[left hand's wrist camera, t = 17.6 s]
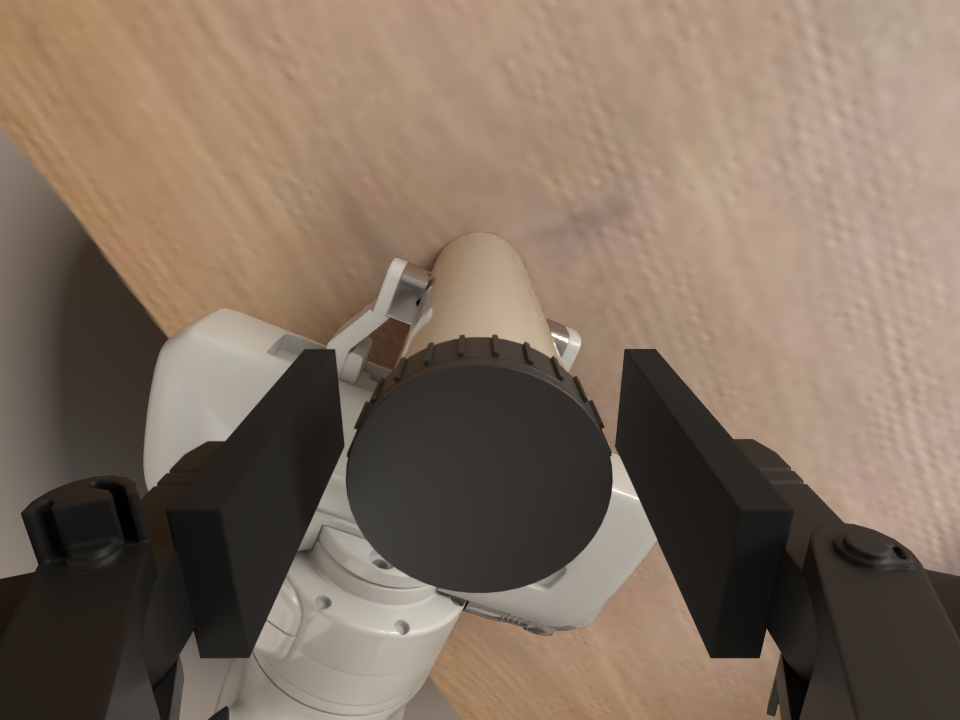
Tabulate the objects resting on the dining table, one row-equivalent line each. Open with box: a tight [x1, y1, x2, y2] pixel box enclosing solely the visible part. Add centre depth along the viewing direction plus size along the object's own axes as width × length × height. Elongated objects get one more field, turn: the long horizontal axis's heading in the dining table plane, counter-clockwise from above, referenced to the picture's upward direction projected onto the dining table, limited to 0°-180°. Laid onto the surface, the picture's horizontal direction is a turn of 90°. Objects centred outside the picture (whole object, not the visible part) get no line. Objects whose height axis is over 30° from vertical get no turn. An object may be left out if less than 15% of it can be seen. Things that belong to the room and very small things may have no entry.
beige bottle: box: [393, 232, 565, 370], centre depth 19 cm, size 5×5×17 cm
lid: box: [346, 334, 613, 593], centre depth 11 cm, size 5×5×2 cm
